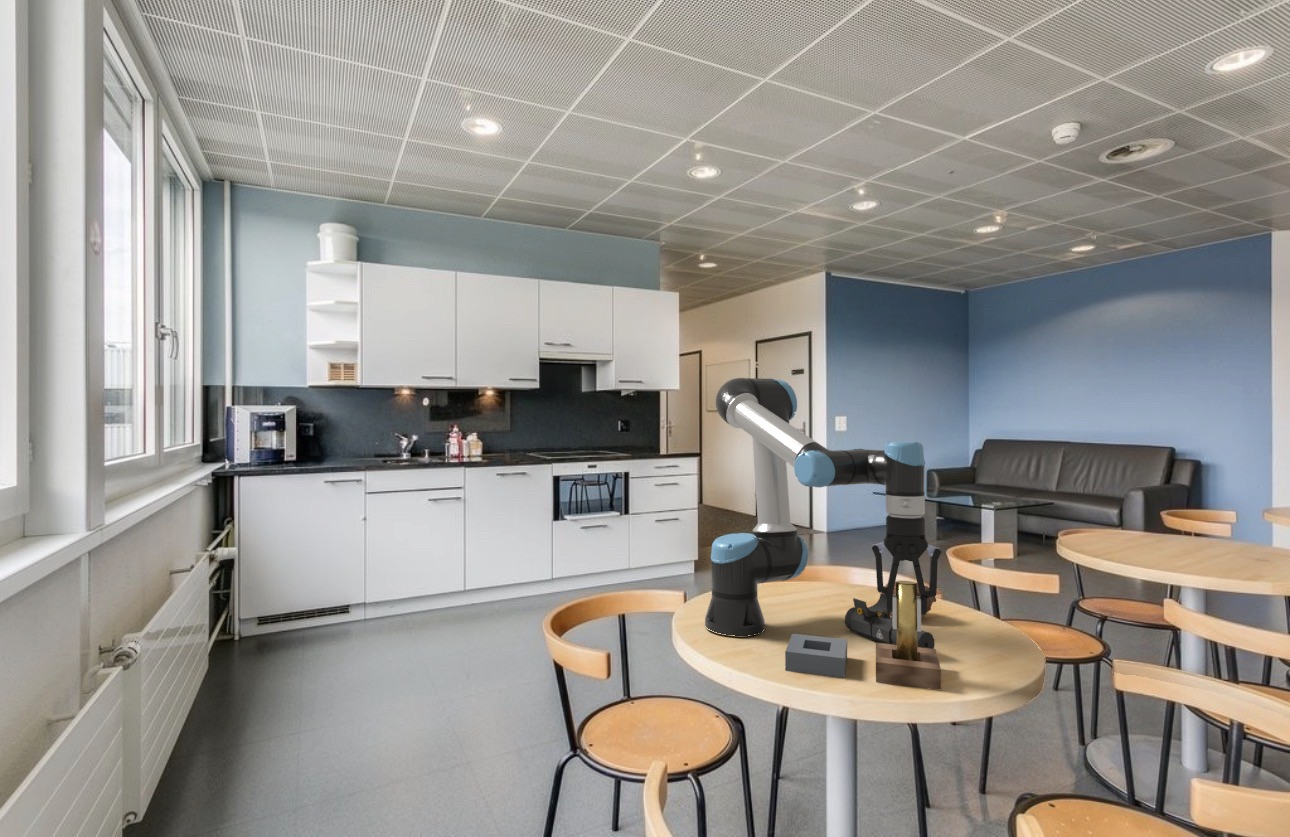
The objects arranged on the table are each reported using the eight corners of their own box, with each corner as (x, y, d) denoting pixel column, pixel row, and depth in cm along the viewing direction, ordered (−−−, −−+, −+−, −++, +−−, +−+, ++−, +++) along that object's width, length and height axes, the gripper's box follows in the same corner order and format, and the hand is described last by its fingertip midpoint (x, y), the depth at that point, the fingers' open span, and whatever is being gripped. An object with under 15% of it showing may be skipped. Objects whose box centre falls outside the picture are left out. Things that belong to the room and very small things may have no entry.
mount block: (785, 670, 134) (785, 651, 134) (792, 651, 145) (792, 633, 145) (844, 677, 129) (844, 658, 129) (847, 657, 141) (847, 639, 141)
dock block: (875, 681, 127) (875, 662, 127) (875, 660, 139) (875, 642, 139) (941, 690, 123) (940, 669, 123) (935, 667, 134) (935, 649, 134)
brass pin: (897, 662, 130) (896, 584, 130) (896, 655, 133) (895, 580, 133) (918, 664, 128) (917, 586, 128) (917, 658, 132) (916, 581, 132)
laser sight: (911, 662, 138) (910, 617, 138) (836, 633, 158) (835, 593, 158) (940, 655, 143) (940, 610, 143) (864, 627, 162) (863, 588, 163)
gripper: (861, 516, 131) (863, 629, 130) (952, 519, 125) (954, 638, 124) (862, 511, 138) (863, 619, 137) (948, 514, 132) (950, 627, 131)
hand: (906, 628), depth 131 cm, fingers closed on brass pin, 4 cm apart
